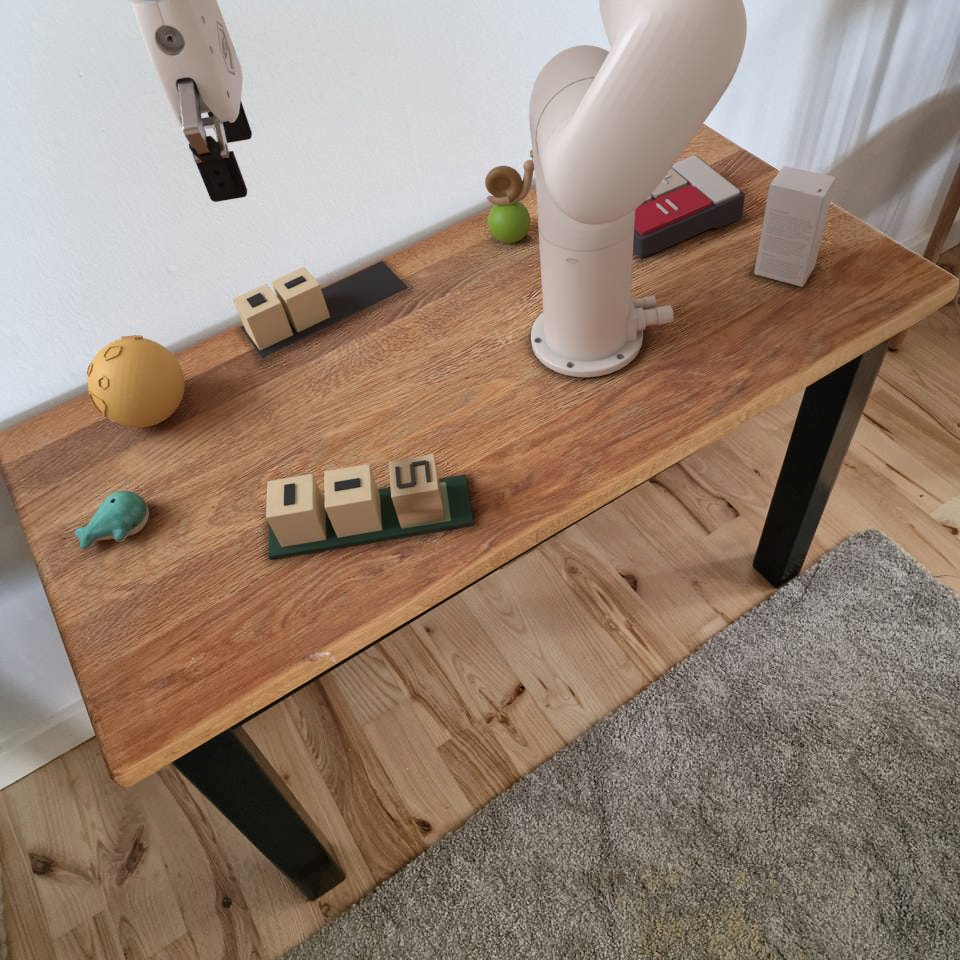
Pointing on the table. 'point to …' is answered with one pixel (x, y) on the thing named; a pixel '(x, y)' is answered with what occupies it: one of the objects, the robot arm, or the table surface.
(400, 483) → the tile
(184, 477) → the table surface
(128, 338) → the stress ball
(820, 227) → the cosmetic box
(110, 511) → the whale figurine
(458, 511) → the mat
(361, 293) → the far word mat
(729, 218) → the calculator
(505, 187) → the snail figurine
